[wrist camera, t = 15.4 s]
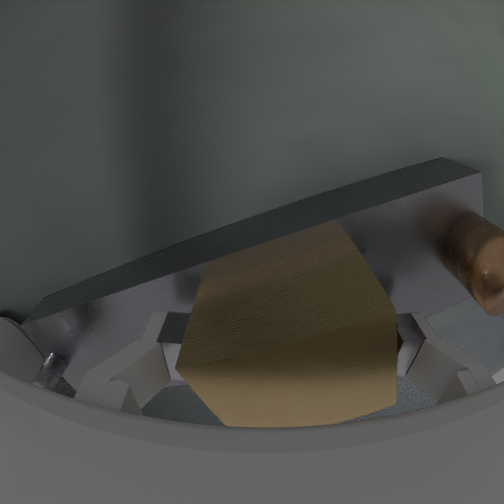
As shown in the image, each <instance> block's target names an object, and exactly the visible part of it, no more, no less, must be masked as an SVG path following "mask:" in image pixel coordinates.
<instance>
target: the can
mask: <svg viewBox="0 0 504 504" xmlns="http://www.w3.org/2000/svg"><path fill="white" fill-rule="evenodd" d="M45 359H46V358H45V357H44V355H43V354H42V353H41V352H40V351H39V349H38V348H37V347H36V346H35V344H34V343H33V342H32V341H31V339H30V338H29V337H28V335H27V334H26V333H25V331H24V330H23V329H22V327H21V326H20V325H19V324H18V323H17V322H15V321H13V320H11V319H9V318H6V317H0V370H2V371H4V372H7V373H9V374H11V375H13V376H15V377H18V378H20V379H22V380H25V381H27V382H30V383H31V382H32V380H33V379H34V377H35V375H36V374H37V372H38V370H39V369H40V367H41V366H42V364H43V362H44V361H45Z"/></svg>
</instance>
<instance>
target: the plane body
mask: <svg viewBox="0 0 504 504" xmlns="http://www.w3.org/2000/svg"><path fill="white" fill-rule="evenodd" d="M348 236H349V237H350V239H351V240H352V242H353V243H354V244H355V246H356V247H357V249H358V250H359V252H360V253H361V255H362V256H363V258H364V259H365V261H366V262H367V264H368V265H369V267H370V268H371V270H372V271H373V273H374V274H375V276H376V278H377V279H378V281H379V282H380V284H381V285H382V287H383V289H384V290H385V292H386V293H387V295H388V297H389V298H390V300H391V302H392V303H393V305H394V307H395V308H396V314H400V313H409V312H421V313H422V314H423V316H424V317H425V318H426V317H429V316H431V315H433V314H435V313H438V312H440V311H442V310H444V309H446V308H448V307H451V306H453V305H455V304H457V303H459V302H461V301H463V300H465V299H467V298H469V297H471V296H472V297H473V298H474V299H475V300H476V301H477V302H478V304H479V305H480V306H481V307H482V308H483V309H484V311H485V312H486V313H487V314H488V315H490V316H497V315H500V314H502V313H504V231H503V230H502V229H500V228H499V227H497V226H496V225H494V224H493V223H491V222H490V221H488V220H486V219H485V218H484V201H483V182H482V172H481V171H478V170H476V169H473V168H471V167H468V166H465V165H462V164H460V163H457V162H454V161H451V160H448V159H445V158H439V159H435V160H431V161H428V162H424V163H421V164H417V165H414V166H410V167H407V168H403V169H400V170H397V171H393V172H390V173H386V174H383V175H380V176H377V177H373V178H370V179H367V180H363V181H360V182H357V183H354V184H351V185H347V186H344V187H341V188H338V189H335V190H332V191H329V192H325V193H322V194H319V195H316V196H313V197H310V198H307V199H304V200H301V201H298V202H295V203H292V204H289V205H286V206H283V207H280V208H277V209H274V210H271V211H268V212H265V213H263V214H260V215H257V216H254V217H251V218H248V219H245V220H242V221H240V222H237V223H234V224H231V225H228V226H226V227H223V228H220V229H217V230H214V231H212V232H209V233H206V234H203V235H201V236H198V237H195V238H193V239H190V240H187V241H185V242H182V243H179V244H176V245H174V246H171V247H169V248H166V249H163V250H161V251H158V252H155V253H153V254H150V255H148V256H145V257H142V258H140V259H137V260H135V261H132V262H130V263H127V264H125V265H122V266H120V267H117V268H115V269H112V270H110V271H107V272H105V273H102V274H100V275H97V276H95V277H92V278H90V279H88V280H85V281H83V282H80V283H78V284H76V285H73V286H71V287H68V288H66V289H64V290H61V291H59V292H57V293H54V294H52V295H50V296H47V297H45V298H44V299H43V300H42V301H41V302H40V303H39V304H38V305H37V307H36V308H35V309H34V310H33V311H32V312H31V313H30V315H29V316H28V317H27V318H26V319H25V321H24V322H23V323H22V324H21V325H20V326H21V327H22V329H23V330H24V331H25V333H26V334H27V335H28V337H29V338H30V339H31V341H32V342H33V343H34V344H35V346H36V347H37V348H38V349H39V351H40V352H41V353H42V354H43V355H44V357H45V358H46V359H45V361H44V362H43V364H42V366H41V367H40V369H39V370H38V372H37V374H36V375H35V377H34V379H33V380H32V382H31V383H32V384H34V385H37V386H40V387H42V388H45V389H48V390H50V391H53V392H54V390H55V388H56V387H57V385H58V383H59V381H60V379H61V378H62V377H63V378H64V379H65V380H66V381H67V382H68V383H69V384H70V385H71V386H72V387H73V388H74V389H75V390H76V391H77V390H78V388H79V386H80V384H81V382H82V380H83V378H84V377H85V375H86V373H87V372H88V371H89V370H91V369H92V368H94V367H95V366H97V365H99V364H100V363H102V362H103V361H105V360H107V359H108V358H110V357H111V356H113V355H114V354H116V353H118V352H119V351H121V350H122V349H124V348H125V347H127V346H129V345H130V344H132V343H133V342H135V341H136V340H141V339H142V337H143V334H144V332H145V330H146V328H147V326H148V323H149V321H150V319H151V317H152V315H153V313H154V312H155V311H156V310H159V311H169V312H170V311H172V312H182V313H191V311H192V308H193V304H194V301H195V298H196V295H197V291H198V288H199V285H200V284H203V283H206V282H209V281H212V280H215V279H219V278H222V277H225V276H228V275H231V274H234V273H238V272H241V271H244V270H247V269H250V268H253V267H257V266H260V265H263V264H266V263H269V262H272V261H275V260H278V259H281V258H285V257H288V256H291V255H294V254H297V253H300V252H303V251H306V250H309V249H312V248H315V247H318V246H321V245H324V244H327V243H330V242H333V241H336V240H339V239H342V238H345V237H348ZM182 385H188V384H187V383H186V381H183V380H172V379H170V382H169V383H168V384H167V385H166V386H165V387H164V388H166V387H174V386H182Z"/></svg>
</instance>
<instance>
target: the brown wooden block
mask: <svg viewBox="0 0 504 504" xmlns="http://www.w3.org/2000/svg"><path fill="white" fill-rule="evenodd" d="M175 369H176V371H177V372H178V373H179V374H180V375H181V377H182V378H183V379H184V380H185V381H186V383H187V384H188V385H189V386H190V387H191V389H192V390H193V391H194V392H195V393H196V394H197V395H198V397H199V398H200V399H201V400H202V401H203V402H204V403H205V404H206V405H207V407H208V408H209V409H210V410H211V411H212V412H213V413H214V414H215V415H216V416H217V417H218V418H219V419H220V420H221V421H222V423H223V424H224V425H225V426H234V427H301V426H317V425H329V424H336V423H340V422H344V421H347V420H350V419H354V418H357V417H360V416H363V415H367V414H370V413H373V412H376V411H378V410H381V409H384V408H387V407H390V406H392V405H395V404H396V397H397V324H396V308H395V307H394V305H393V303H392V302H391V300H390V298H389V297H388V295H387V293H386V292H385V290H384V289H383V287H382V285H381V284H380V282H379V281H378V279H377V278H376V276H375V274H374V273H373V271H372V270H371V268H370V267H369V265H368V264H367V262H366V261H365V259H364V258H363V256H362V255H361V253H360V252H359V250H358V249H357V247H356V246H355V244H354V243H353V242H352V240H351V239H350V237H349V236H348V237H345V238H342V239H339V240H336V241H333V242H330V243H327V244H324V245H321V246H318V247H315V248H312V249H309V250H306V251H303V252H300V253H297V254H294V255H291V256H288V257H285V258H281V259H278V260H275V261H272V262H269V263H266V264H263V265H260V266H257V267H253V268H250V269H247V270H244V271H241V272H238V273H234V274H231V275H228V276H225V277H222V278H219V279H215V280H212V281H209V282H206V283H203V284H200V285H199V288H198V291H197V295H196V298H195V301H194V304H193V308H192V311H191V314H190V318H189V321H188V324H187V328H186V331H185V334H184V338H183V341H182V345H181V348H180V352H179V355H178V359H177V362H176V366H175Z"/></svg>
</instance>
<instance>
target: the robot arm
mask: <svg viewBox="0 0 504 504" xmlns="http://www.w3.org/2000/svg"><path fill="white" fill-rule="evenodd" d="M190 314H191V313H182V312H172V311H170V312H169V311H159V310H156V311H155V312H154V313H153V315H152V317H151V319H150V321H149V323H148V326H147V328H146V330H145V332H144V334H143V337H142V339H141V340H136V341H135V342H133V343H132V344H130V345H129V346H127V347H125V348H124V349H122V350H121V351H119V352H118V353H116V354H114V355H113V356H111V357H110V358H108V359H107V360H105V361H103V362H102V363H100V364H99V365H97V366H95V367H94V368H92V369H91V370H89V371H88V372H87V373H86V375H85V377H84V378H83V380H82V382H81V384H80V386H79V388H78V390H77V392H76V394H75V396H74V398H71V397H68V396H65V395H62V394H59V393H56V392H53V391H50V390H48V389H45V388H42V387H40V386H37V385H34V384H32V383H30V382H27V381H25V380H22V379H20V378H18V377H15V376H13V375H11V374H9V373H7V372H4V371H2V370H0V504H504V381H503V382H501V383H499V384H496V383H495V381H494V380H493V378H492V376H491V375H490V373H489V371H488V370H487V368H486V366H485V365H484V364H483V363H482V362H480V361H479V360H477V359H475V358H474V357H472V356H470V355H469V354H467V353H466V352H464V351H462V350H461V349H459V348H457V347H456V346H454V345H453V344H451V343H449V342H448V341H446V340H444V339H443V338H438V337H437V335H436V334H435V332H434V331H433V329H432V328H431V326H430V324H429V323H428V321H427V320H426V318H425V317H424V316H423V314H422V313H421V312H409V313H400V314H396V324H397V376H401V375H406V377H408V378H409V379H410V380H411V381H412V382H413V383H414V384H415V385H416V386H417V387H418V388H419V389H421V390H422V391H423V392H424V393H425V394H426V395H427V396H428V397H429V398H430V399H431V400H433V401H434V402H435V403H436V404H435V405H434V406H430V407H427V408H423V409H419V410H415V411H410V412H406V413H401V414H396V415H392V416H386V417H381V418H375V419H369V420H362V421H355V422H348V423H339V424H329V425H317V426H301V427H234V426H218V425H206V424H195V423H187V422H179V421H172V420H165V419H159V418H153V417H147V416H144V415H143V413H142V411H141V409H142V408H143V407H144V406H145V405H146V404H147V403H148V402H149V401H150V400H151V399H152V398H153V397H154V396H155V395H156V394H157V393H158V392H159V391H160V390H161V389H162V388H164V387H165V386H166V385H167V384H168V383H169V382H170V379H172V380H183V381H185V380H184V379H183V378H182V377H181V375H180V374H179V373H178V372H177V371H176V369H175V366H176V362H177V359H178V355H179V352H180V348H181V345H182V341H183V338H184V334H185V331H186V328H187V324H188V321H189V318H190Z"/></svg>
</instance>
